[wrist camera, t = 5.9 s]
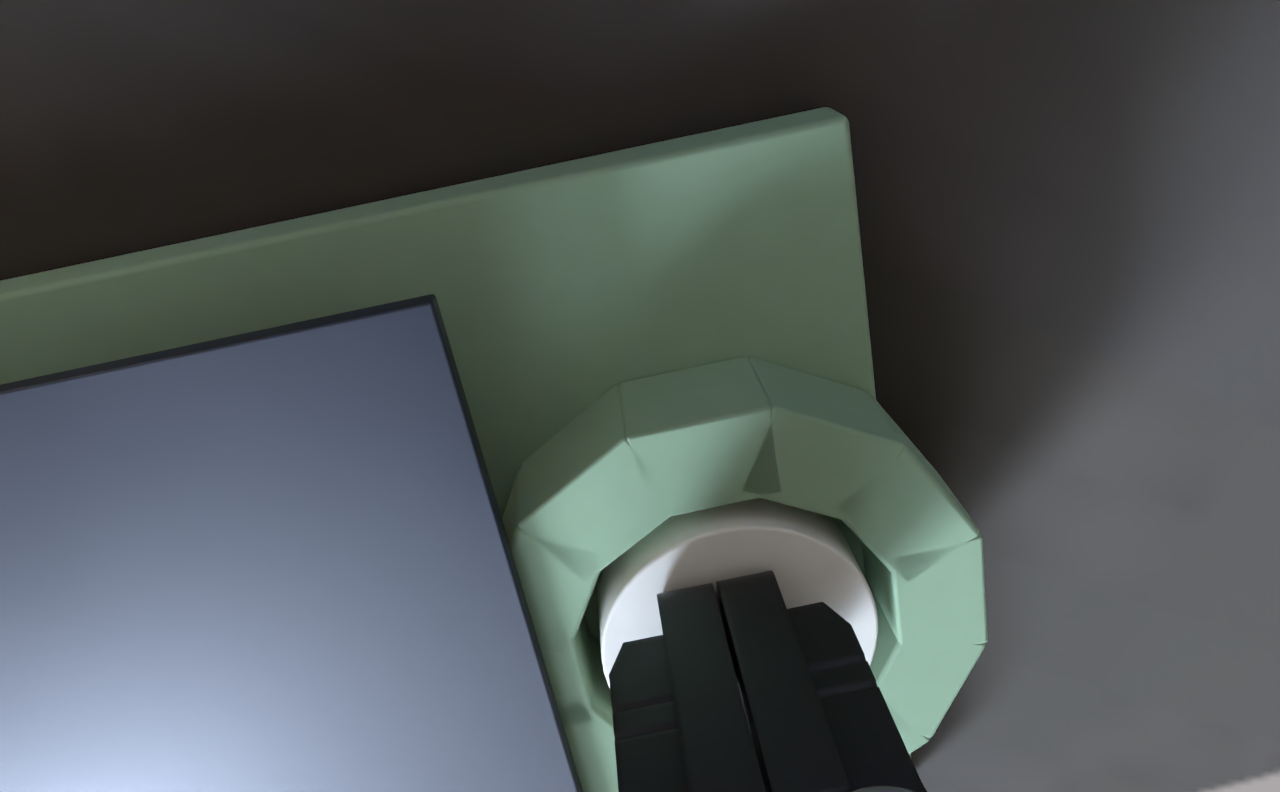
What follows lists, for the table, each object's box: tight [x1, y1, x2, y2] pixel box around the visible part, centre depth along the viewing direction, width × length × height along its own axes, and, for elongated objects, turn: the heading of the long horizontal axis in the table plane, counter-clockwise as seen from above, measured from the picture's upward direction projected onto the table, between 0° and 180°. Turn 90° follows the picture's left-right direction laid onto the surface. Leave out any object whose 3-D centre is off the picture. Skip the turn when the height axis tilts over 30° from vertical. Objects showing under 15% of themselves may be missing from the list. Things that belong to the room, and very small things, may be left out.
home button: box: [597, 498, 878, 688], centre depth 13 cm, size 4×4×1 cm
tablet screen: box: [0, 294, 583, 792], centre depth 13 cm, size 12×11×1 cm
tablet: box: [0, 107, 988, 792], centre depth 14 cm, size 18×12×2 cm
